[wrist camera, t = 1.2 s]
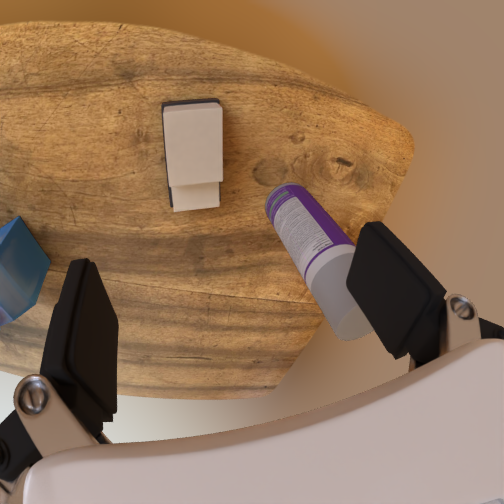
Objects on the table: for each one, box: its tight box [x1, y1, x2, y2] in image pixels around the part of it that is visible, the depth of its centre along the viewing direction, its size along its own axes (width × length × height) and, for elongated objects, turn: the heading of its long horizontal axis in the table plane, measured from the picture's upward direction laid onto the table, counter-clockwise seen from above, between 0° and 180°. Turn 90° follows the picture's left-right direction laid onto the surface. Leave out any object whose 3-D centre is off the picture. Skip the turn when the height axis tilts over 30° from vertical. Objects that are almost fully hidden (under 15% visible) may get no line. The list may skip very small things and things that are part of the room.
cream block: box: [161, 98, 223, 212], centre depth 21 cm, size 9×4×4 cm, turn 178°
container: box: [265, 183, 374, 341], centre depth 23 cm, size 5×5×15 cm
